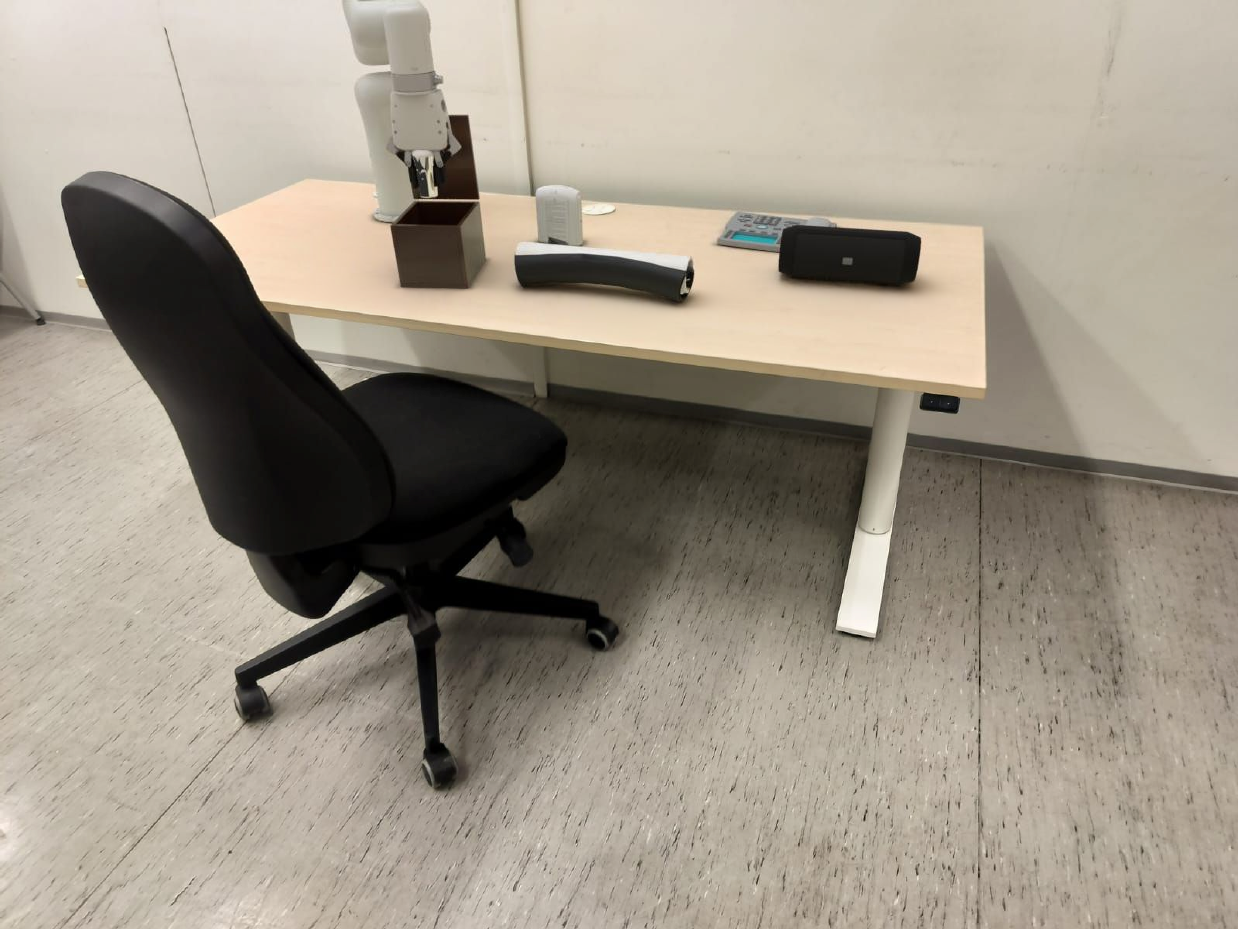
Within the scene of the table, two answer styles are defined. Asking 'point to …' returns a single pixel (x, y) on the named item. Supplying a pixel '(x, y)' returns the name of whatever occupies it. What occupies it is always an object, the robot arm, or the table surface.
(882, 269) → the portable speaker
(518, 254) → the curved black white bar
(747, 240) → the office telephone
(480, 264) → the chest
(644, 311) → the table surface
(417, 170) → the milkshake
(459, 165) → the lid
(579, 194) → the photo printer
